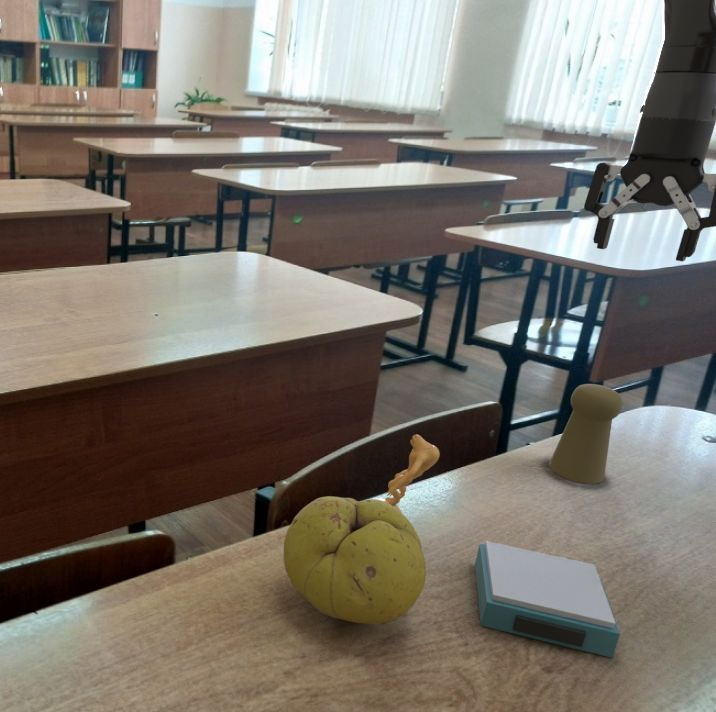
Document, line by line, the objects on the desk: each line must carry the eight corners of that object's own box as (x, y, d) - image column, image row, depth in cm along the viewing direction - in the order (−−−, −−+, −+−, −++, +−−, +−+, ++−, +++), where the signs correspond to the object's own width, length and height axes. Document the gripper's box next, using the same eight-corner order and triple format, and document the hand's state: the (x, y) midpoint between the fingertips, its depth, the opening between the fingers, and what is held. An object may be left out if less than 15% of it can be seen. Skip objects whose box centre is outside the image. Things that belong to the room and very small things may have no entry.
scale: (589, 590, 67) (598, 562, 66) (613, 661, 59) (623, 630, 58) (474, 564, 70) (481, 537, 69) (481, 628, 62) (488, 598, 61)
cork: (558, 454, 93) (581, 374, 89) (610, 472, 89) (636, 390, 85) (541, 469, 89) (563, 386, 85) (595, 489, 85) (621, 403, 81)
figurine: (375, 511, 78) (394, 409, 74) (431, 532, 75) (454, 427, 70) (344, 546, 72) (362, 437, 67) (404, 572, 68) (428, 459, 64)
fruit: (348, 553, 71) (364, 462, 67) (445, 631, 61) (469, 530, 58) (255, 585, 65) (266, 488, 62) (345, 676, 56) (364, 568, 52)
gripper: (757, 121, 83) (714, 261, 88) (617, 114, 92) (585, 242, 97) (748, 118, 78) (702, 268, 83) (601, 111, 87) (568, 247, 92)
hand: (639, 254), depth 90 cm, fingers open, 8 cm apart
